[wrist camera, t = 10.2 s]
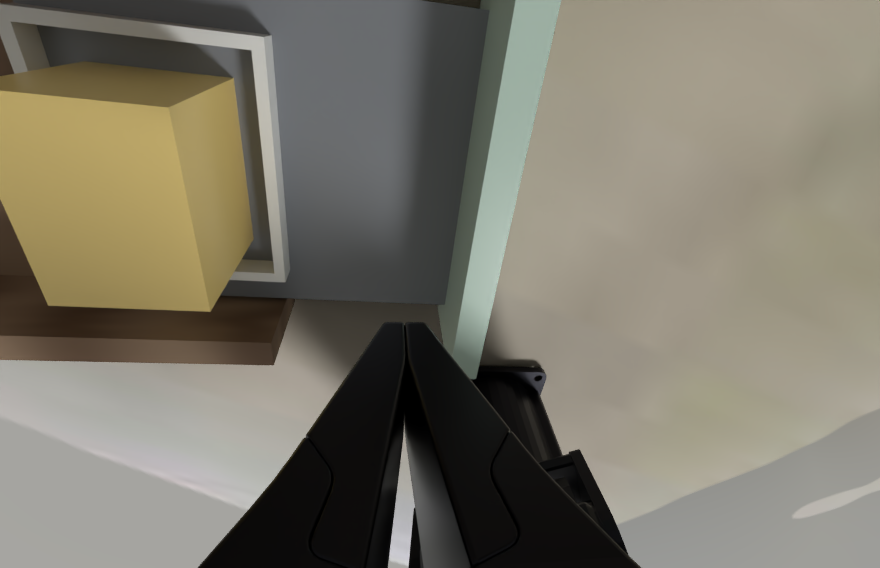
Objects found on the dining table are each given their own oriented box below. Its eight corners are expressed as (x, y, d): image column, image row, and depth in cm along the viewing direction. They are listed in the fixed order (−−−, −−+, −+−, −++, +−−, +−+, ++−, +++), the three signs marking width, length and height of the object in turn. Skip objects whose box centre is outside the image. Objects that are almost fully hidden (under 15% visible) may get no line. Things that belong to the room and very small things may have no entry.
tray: (520, -37, 15) (573, -54, 11) (459, 307, 23) (475, 379, 18) (19, -117, 13) (-175, -181, 8) (143, 295, 21) (77, 372, 16)
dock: (268, -76, 14) (217, -111, 10) (296, 296, 22) (273, 365, 18) (-321, -170, 12) (-712, -267, 8) (-55, 281, 20) (-176, 356, 16)
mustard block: (233, 77, 14) (168, 107, 10) (253, 238, 17) (210, 311, 13) (84, 61, 14) (-51, 85, 9) (133, 231, 17) (48, 305, 13)
